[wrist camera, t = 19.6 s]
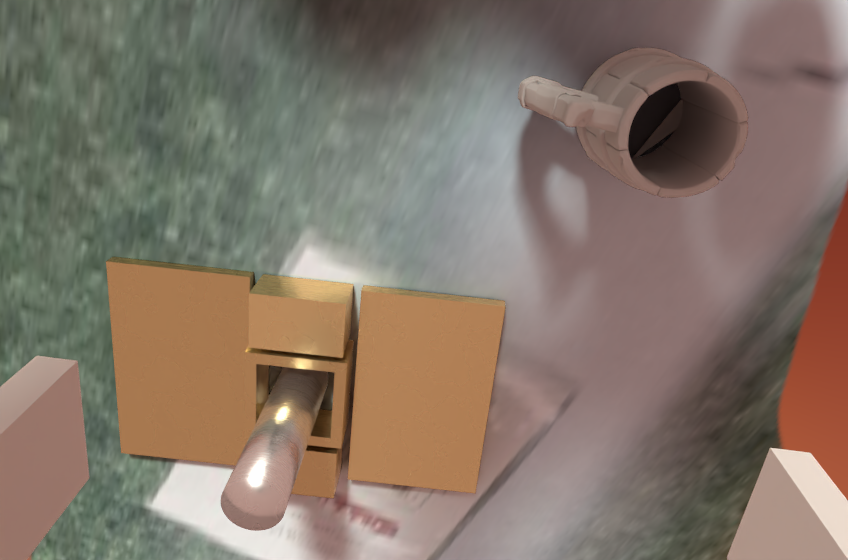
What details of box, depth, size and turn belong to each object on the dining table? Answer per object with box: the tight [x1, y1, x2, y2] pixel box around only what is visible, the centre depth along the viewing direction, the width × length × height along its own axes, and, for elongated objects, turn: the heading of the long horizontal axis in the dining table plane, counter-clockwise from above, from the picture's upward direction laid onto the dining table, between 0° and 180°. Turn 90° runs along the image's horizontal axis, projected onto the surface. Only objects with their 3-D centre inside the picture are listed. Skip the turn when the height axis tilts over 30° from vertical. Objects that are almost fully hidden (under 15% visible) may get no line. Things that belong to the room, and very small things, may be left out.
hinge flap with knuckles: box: [249, 274, 506, 493], centre depth 48 cm, size 16×17×4 cm
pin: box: [221, 367, 329, 530], centre depth 43 cm, size 4×4×14 cm
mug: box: [518, 48, 748, 198], centre depth 36 cm, size 8×12×12 cm, turn 77°
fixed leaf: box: [106, 257, 354, 498], centre depth 48 cm, size 16×17×4 cm
